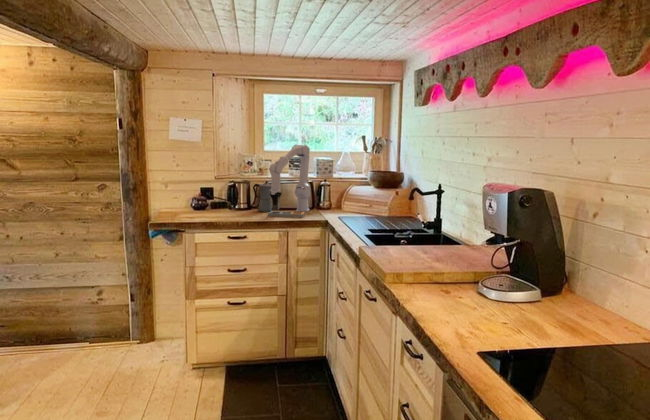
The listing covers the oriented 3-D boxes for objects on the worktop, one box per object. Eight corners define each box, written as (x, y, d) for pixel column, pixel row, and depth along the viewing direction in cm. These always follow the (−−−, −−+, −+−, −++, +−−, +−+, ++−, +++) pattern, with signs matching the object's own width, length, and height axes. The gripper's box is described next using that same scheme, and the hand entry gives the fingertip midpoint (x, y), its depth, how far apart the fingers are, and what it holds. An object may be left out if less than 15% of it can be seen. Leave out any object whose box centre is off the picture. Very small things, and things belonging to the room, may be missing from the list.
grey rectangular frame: (271, 214, 308) (271, 210, 307) (305, 215, 304) (305, 212, 304) (268, 216, 300) (268, 212, 299) (302, 217, 297) (302, 214, 296)
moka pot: (275, 212, 314) (275, 182, 311) (251, 212, 314) (251, 181, 311) (276, 210, 323) (276, 180, 320) (254, 209, 324) (253, 180, 320)
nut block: (273, 209, 305) (273, 196, 303) (279, 209, 304) (279, 196, 303) (272, 209, 301) (272, 197, 300) (278, 210, 301) (277, 197, 299)
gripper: (272, 181, 307) (272, 202, 310) (266, 184, 293) (266, 206, 295) (283, 181, 306) (283, 202, 309) (277, 184, 292) (277, 206, 294)
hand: (275, 204), depth 302 cm, fingers closed on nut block, 4 cm apart
